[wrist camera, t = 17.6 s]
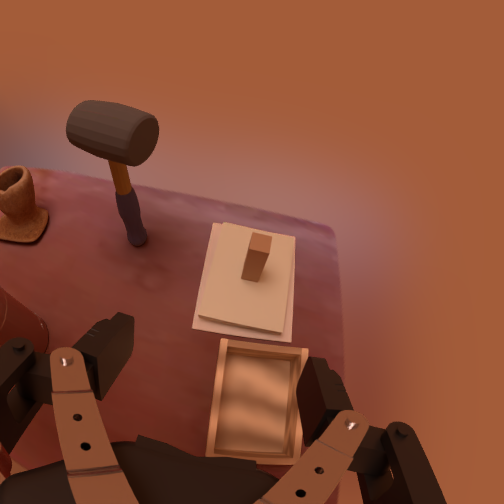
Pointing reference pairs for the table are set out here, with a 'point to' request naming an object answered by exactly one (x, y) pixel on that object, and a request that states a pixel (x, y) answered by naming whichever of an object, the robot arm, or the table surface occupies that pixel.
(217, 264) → the lid
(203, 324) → the mat
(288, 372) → the wooden box
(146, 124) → the rubber mallet
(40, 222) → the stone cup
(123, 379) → the table surface
